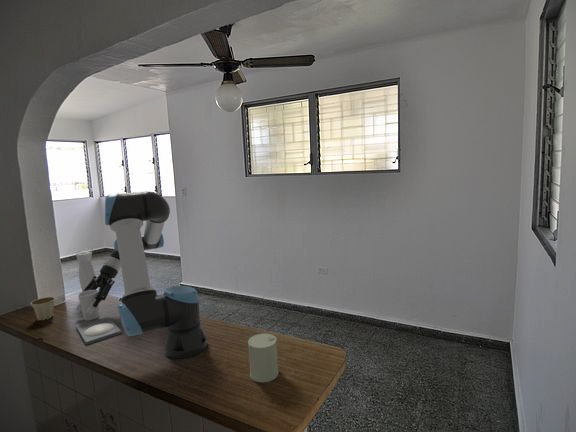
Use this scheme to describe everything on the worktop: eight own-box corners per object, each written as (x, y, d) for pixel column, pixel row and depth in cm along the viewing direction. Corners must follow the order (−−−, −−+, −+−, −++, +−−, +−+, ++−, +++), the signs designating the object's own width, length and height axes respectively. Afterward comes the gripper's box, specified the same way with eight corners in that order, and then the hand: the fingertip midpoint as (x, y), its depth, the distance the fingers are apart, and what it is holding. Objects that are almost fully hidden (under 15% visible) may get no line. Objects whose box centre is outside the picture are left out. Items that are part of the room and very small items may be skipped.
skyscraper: (96, 295, 189) (90, 246, 185) (101, 299, 184) (94, 248, 180) (80, 300, 183) (73, 249, 179) (84, 303, 178) (77, 251, 174)
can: (281, 378, 108) (280, 343, 106) (252, 385, 105) (250, 348, 104) (274, 363, 117) (272, 329, 115) (247, 368, 114) (245, 334, 112)
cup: (86, 322, 155) (82, 297, 153) (78, 318, 160) (75, 294, 158) (104, 316, 161) (100, 291, 160) (96, 312, 166) (93, 288, 164)
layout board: (121, 333, 143) (121, 330, 143) (86, 344, 135) (85, 341, 135) (108, 318, 158) (108, 315, 158) (76, 328, 150) (75, 325, 150)
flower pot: (62, 314, 166) (59, 297, 165) (45, 322, 157) (42, 305, 156) (45, 313, 168) (43, 296, 167) (28, 322, 159) (25, 304, 157)
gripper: (130, 274, 166) (103, 318, 155) (104, 269, 176) (76, 311, 165) (119, 266, 161) (90, 312, 149) (92, 262, 171) (63, 304, 160)
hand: (83, 311), depth 157 cm, fingers closed on cup, 8 cm apart
